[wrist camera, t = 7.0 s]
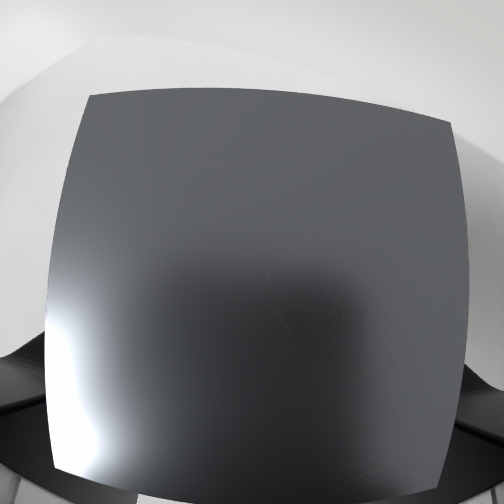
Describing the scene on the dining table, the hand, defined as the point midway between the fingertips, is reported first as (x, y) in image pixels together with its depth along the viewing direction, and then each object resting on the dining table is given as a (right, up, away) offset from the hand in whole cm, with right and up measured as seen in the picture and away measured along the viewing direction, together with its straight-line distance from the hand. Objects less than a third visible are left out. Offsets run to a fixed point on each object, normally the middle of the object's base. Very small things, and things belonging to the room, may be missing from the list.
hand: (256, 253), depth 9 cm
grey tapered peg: (0, -2, +6) cm, 7 cm away
